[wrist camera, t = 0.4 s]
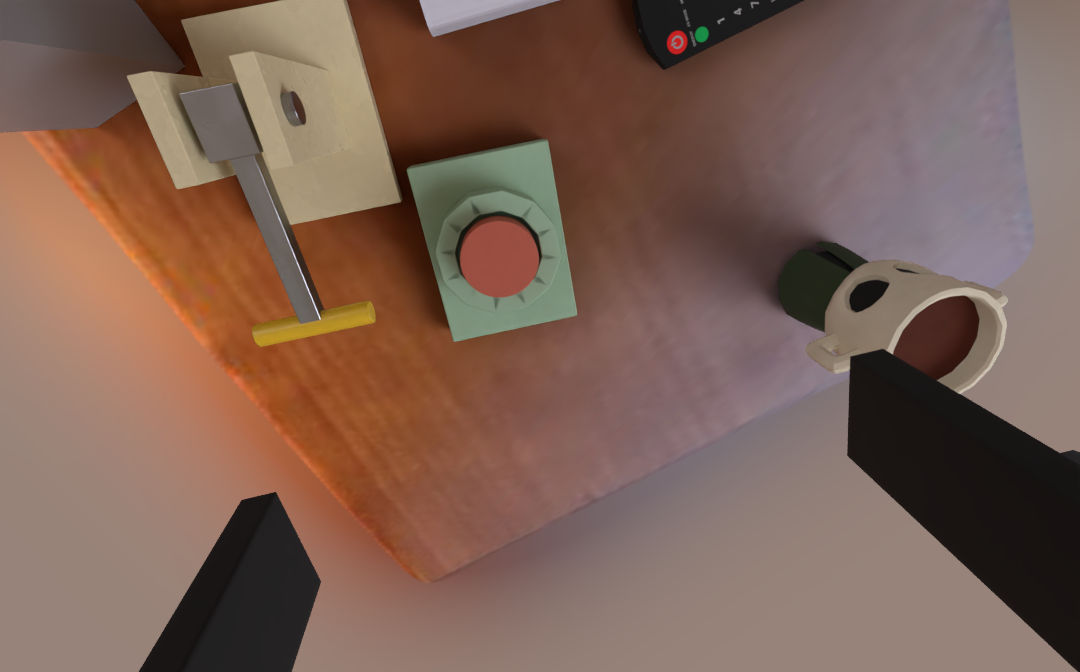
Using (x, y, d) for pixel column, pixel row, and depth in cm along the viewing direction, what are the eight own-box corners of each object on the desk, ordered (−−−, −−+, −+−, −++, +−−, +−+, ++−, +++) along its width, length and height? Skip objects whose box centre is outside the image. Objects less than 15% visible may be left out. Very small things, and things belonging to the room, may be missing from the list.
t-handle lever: (378, 312, 30) (372, 331, 28) (269, 335, 30) (254, 356, 28) (294, 72, 24) (278, 73, 22) (160, 98, 24) (131, 102, 22)
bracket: (403, 199, 36) (367, 242, 25) (269, 227, 36) (169, 284, 24) (344, -8, 32) (266, -77, 20) (190, 22, 31) (18, -29, 20)
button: (452, 223, 34) (451, 229, 32) (528, 208, 34) (530, 213, 32) (470, 296, 36) (470, 304, 34) (542, 281, 36) (545, 288, 34)
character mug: (873, 208, 40) (1041, 250, 28) (886, 292, 43) (1043, 363, 31) (734, 267, 41) (841, 332, 29) (755, 346, 44) (861, 435, 32)
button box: (409, 165, 36) (401, 172, 32) (544, 138, 36) (552, 141, 32) (454, 331, 40) (452, 354, 37) (573, 306, 41) (582, 326, 37)
